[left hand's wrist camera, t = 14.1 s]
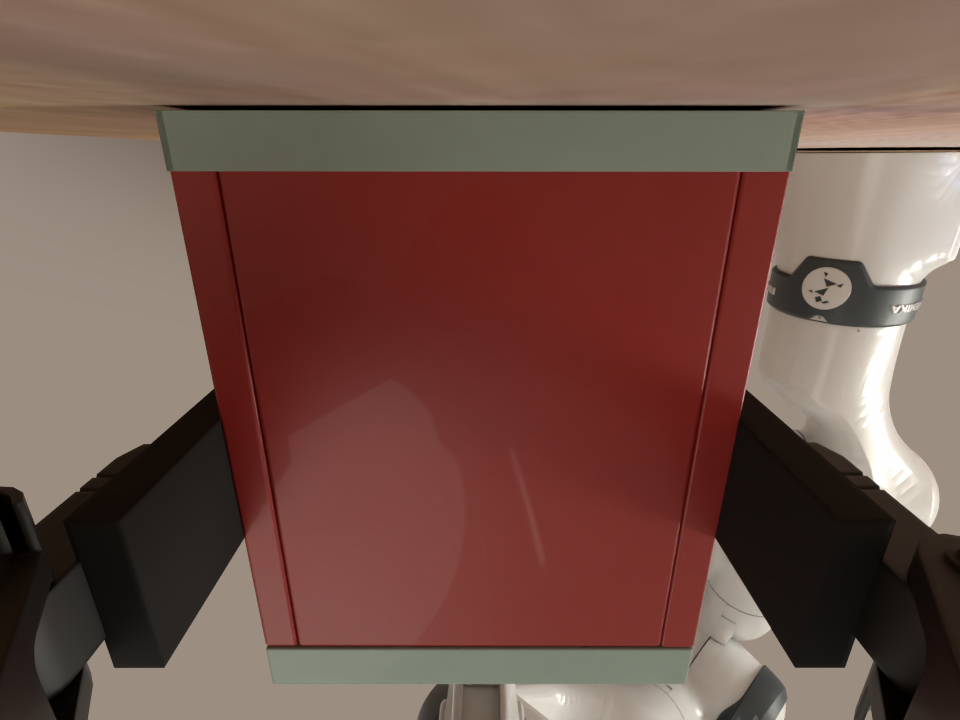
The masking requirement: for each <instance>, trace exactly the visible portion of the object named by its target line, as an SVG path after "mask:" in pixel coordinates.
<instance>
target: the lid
mask: <svg viewBox="0 0 960 720" xmlns="http://www.w3.org/2000/svg"><path fill="white" fill-rule="evenodd" d="M266 650H267V655H268V660H269V665H270V670H271V675H272V680H273V683H274V684H685V683H686V680H687V675H688V670H689V665H690V661H691V656H692V651H693V649H692V647H663V646H661V644H659V645H657V646H354V645H300V644H299V642H298V643H297V645H268V646H267V649H266Z"/></svg>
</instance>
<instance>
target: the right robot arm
mask: <svg viewBox="0 0 960 720" xmlns="http://www.w3.org/2000/svg"><path fill="white" fill-rule="evenodd" d="M959 247H960V151H927V152H796V156H795V161H794V166H793V171H792V172H790V175H789V180H788V185H787V190H786V195H785V200H784V204H783V209H782V214H781V219H780V224H779V229H778V234H777V239H776V244H775V249H774V255H775V258H776V262H777V265H776V266H774V267H773V268H772V273H771V278H770V281H769V282H768V288H767V289H768V295H767V302H768V303H769V304H770V309H769V314H768V318H767V323H766V328H765V333H764V338H763V343H762V347H761V352H760V357H759V362H758V369H759V374H760V377H761V379H762V381H763V383H764V385H765V386H766V387H767V389H768V390H769V391H770V392H771V393H772V394H774V395H775V396H776V397H777V398H779V399H780V400H781V401H783V402H784V403H786V404H788V405H789V406H791V407H793V408H795V409H797V410H799V411H800V412H802V413H804V414H806V415H807V418H806V422H805V425H804V427H803V428H802V429H801V430H793V431H794V432H795V433H796V434H798V435H799V436H800V437H801V438H802V439H803V440H804V441H806V442H816V443H818V444H820V445H822V446H824V447H826V448H828V449H830V450H832V451H834V452H836V453H838V454H840V455H842V456H844V457H845V458H846V459H847V460H849V461H850V462H851V463H852V464H853V465H855V466H856V467H857V468H858V469H859V470H861V471H862V472H863V476H868V477H869V478H870V479H872V480H873V481H874V482H875V483H876V484H878V485H879V486H880V490H885V491H886V492H887V493H889V494H890V495H891V496H892V497H894V498H895V499H896V500H897V501H898V502H900V503H901V504H902V505H903V506H904V507H906V508H907V509H908V510H909V511H911V512H912V513H913V514H914V515H915V516H917V517H918V518H919V519H920V520H921V521H923V522H924V523H925V524H926V525H928V526H929V527H930V526H931V525H932V523H933V522H934V520H935V518H936V515H937V512H938V508H939V490H938V486H937V482H936V480H935V478H934V475H933V474H932V472H931V470H930V469H929V467H928V466H927V464H926V463H925V462H924V461H923V460H922V459H921V458H920V457H919V456H918V455H917V454H916V453H915V452H913V451H912V450H911V449H910V448H909V447H908V446H907V445H906V444H905V443H904V442H903V441H902V439H901V438H900V436H899V435H898V433H897V431H896V429H895V427H894V425H893V422H892V418H891V414H890V409H889V392H890V386H891V381H892V376H893V371H894V367H895V363H896V358H897V355H898V351H899V347H900V343H901V340H902V337H903V334H904V330H905V327H906V324H907V323H909V322H911V321H913V319H914V317H915V314H916V312H917V309H918V308H919V307H920V305H921V302H922V299H923V297H922V295H923V292H924V289H925V286H926V283H927V281H926V279H925V278H924V277H925V276H926V275H928V274H929V273H930V272H931V271H932V270H934V269H936V268H937V267H939V266H942V265H944V264H946V263H947V262H949V261H952V260H954V259H955V257H956V255H957V252H958V249H959ZM770 629H771V628H770V626H769V624H768V623H767V621H766V620H765V618H764V616H763V615H762V613H761V611H760V610H759V608H758V607H757V605H756V603H755V602H754V600H753V599H752V597H751V595H750V594H749V592H748V590H747V589H746V587H745V586H744V584H743V582H742V581H741V579H740V577H739V576H738V574H737V573H736V571H735V569H734V568H733V566H732V564H731V563H730V561H729V560H728V558H727V556H726V555H725V553H724V552H723V550H722V548H721V547H720V545H719V543H718V542H717V540H716V539H715V543H714V548H713V553H712V558H711V563H710V567H709V572H708V577H707V582H706V587H705V592H704V597H703V602H702V607H701V612H700V617H699V621H698V626H697V631H696V636H695V641H694V645H693V646H692V649H693V651H692V656H691V661H690V665H689V670H688V675H687V680H686V683H685V684H437V685H436V686H435V687H434V688H433V689H432V691H431V692H430V693H429V695H428V696H427V698H426V700H425V702H424V703H423V705H422V708H421V710H420V712H419V715H418V719H417V720H784V718H785V711H786V701H787V694H786V689H785V687H784V685H783V684H782V683H781V681H780V680H779V679H778V678H777V677H776V676H775V675H774V673H773V672H772V671H771V670H770V669H769V668H768V667H767V666H766V665H764V666H762V665H761V664H760V663H759V662H758V661H757V660H756V659H755V658H754V657H753V656H752V655H751V654H750V653H749V652H748V651H747V650H745V649H744V648H743V647H742V646H741V645H740V644H739V643H738V642H736V641H735V640H734V639H737V640H753V639H756V638H758V637H760V636H762V635H764V634H765V633H766V632H768V631H769V630H770ZM733 638H734V639H733Z"/></svg>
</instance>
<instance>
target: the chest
mask: <svg viewBox="0 0 960 720" xmlns="http://www.w3.org/2000/svg"><path fill="white" fill-rule="evenodd" d="M804 112H805V111H661V110H155V114H156V119H157V124H158V129H159V134H160V139H161V144H162V149H163V153H164V158H165V163H166V168H167V171H171V176H172V181H173V186H174V191H175V196H176V201H177V206H178V211H179V216H180V221H181V226H182V231H183V236H184V241H185V246H186V251H187V256H188V260H189V265H190V270H191V275H192V280H193V285H194V290H195V295H196V300H197V305H198V310H199V315H200V320H201V325H202V330H203V335H204V340H205V345H206V350H207V355H208V360H209V364H210V369H211V374H212V379H213V384H214V389H215V394H216V399H217V404H218V409H219V414H220V419H221V424H222V429H223V434H224V439H225V444H226V449H227V454H228V458H229V463H230V468H231V473H232V478H233V483H234V488H235V493H236V498H237V503H238V508H239V513H240V518H241V523H242V528H243V533H244V538H245V543H246V548H247V552H248V557H249V562H250V567H251V572H252V577H253V582H254V587H255V592H256V597H257V602H258V607H259V612H260V617H261V622H262V627H263V631H264V637H265V641H266V644H267V645H297V643H298V642H299V644H300V645H354V646H657V645H659V644H661V646H663V647H692V646H693V645H694V641H695V636H696V631H697V626H698V621H699V617H700V612H701V607H702V602H703V597H704V592H705V587H706V582H707V577H708V572H709V567H710V563H711V558H712V553H713V548H714V543H715V537H716V532H717V527H718V522H719V517H720V512H721V507H722V502H723V497H724V493H725V488H726V483H727V478H728V473H729V468H730V463H731V458H732V453H733V448H734V443H735V438H736V433H737V428H738V424H739V419H740V415H741V411H742V406H743V401H744V396H745V391H746V386H747V381H748V376H749V371H750V366H751V361H752V357H753V352H754V347H755V342H756V337H757V332H758V327H759V322H760V317H761V312H762V307H763V303H764V298H765V293H766V288H767V283H768V278H769V273H770V268H771V263H772V258H773V254H774V249H775V244H776V239H777V234H778V229H779V224H780V219H781V214H782V209H783V204H784V200H785V195H786V190H787V185H788V180H789V175H790V172H792V171H793V166H794V161H795V156H796V151H797V146H798V142H799V137H800V132H801V127H802V122H803V117H804Z"/></svg>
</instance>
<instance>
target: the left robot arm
mask: <svg viewBox="0 0 960 720" xmlns="http://www.w3.org/2000/svg"><path fill="white" fill-rule="evenodd" d="M243 539H244V533H243V528H242V523H241V518H240V513H239V508H238V503H237V498H236V493H235V488H234V483H233V478H232V473H231V468H230V463H229V458H228V454H227V449H226V444H225V439H224V434H223V429H222V424H221V419H220V414H219V409H218V404H217V399H216V394H215V389H213V390H212V391H211V392H210V393H209V394H208V395H206V396H205V397H204V398H203V399H202V400H201V401H200V402H198V403H197V404H196V405H195V406H194V407H193V408H192V409H190V410H189V411H188V412H187V413H186V414H185V415H183V416H182V417H181V418H180V419H179V420H178V421H177V422H175V423H174V424H173V425H172V426H171V427H170V428H169V429H167V430H166V431H165V432H164V433H163V434H162V435H161V436H159V437H158V438H157V439H156V440H155V441H154V442H153V443H151V444H143V445H141V446H139V447H137V448H135V449H133V450H131V451H129V452H128V453H126V454H124V455H122V456H120V457H118V458H116V459H115V460H114V461H112V462H111V463H110V464H109V465H108V466H106V467H105V468H104V469H103V470H102V471H100V472H99V473H98V474H97V477H96V478H92V479H91V480H90V481H88V482H87V483H86V484H85V485H83V486H82V487H81V488H80V492H75V493H74V494H73V495H71V496H70V497H69V498H68V499H67V500H65V501H64V502H63V503H62V504H61V505H59V506H58V507H57V508H56V509H55V510H53V511H52V512H51V513H50V514H49V515H47V516H46V517H45V518H44V519H42V520H41V521H40V522H39V523H38V524H37V525H35V524H34V521H33V518H32V516H31V513H30V510H29V508H28V505H27V502H26V500H25V497H24V494H23V492H21V491H19V490H17V489H15V488H14V487H0V720H88V713H89V707H90V700H91V694H92V687H93V683H92V676H91V672H90V669H89V667H88V664H87V661H88V660H89V659H90V657H91V656H92V655H93V654H94V652H95V651H96V650H97V648H98V647H99V646H100V644H101V643H102V642H103V641H104V640H105V643H106V645H107V648H108V651H109V654H110V657H111V660H112V662H113V665H114V667H115V668H164V667H165V665H166V664H167V662H168V661H169V659H170V657H171V656H172V654H173V653H174V651H175V649H176V648H177V646H178V644H179V643H180V641H181V640H182V638H183V636H184V635H185V633H186V631H187V630H188V628H189V627H190V625H191V623H192V622H193V620H194V618H195V617H196V615H197V614H198V612H199V610H200V609H201V607H202V606H203V604H204V602H205V601H206V599H207V597H208V596H209V594H210V592H211V591H212V589H213V588H214V586H215V585H216V583H217V581H218V580H219V578H220V576H221V575H222V573H223V572H224V570H225V568H226V567H227V565H228V563H229V562H230V560H231V559H232V557H233V555H234V554H235V552H236V551H237V549H238V547H239V546H240V544H241V542H242V541H243ZM715 539H716V540H717V542H718V543H719V545H720V547H721V548H722V550H723V552H724V553H725V555H726V556H727V558H728V560H729V561H730V563H731V564H732V566H733V568H734V569H735V571H736V573H737V574H738V576H739V577H740V579H741V581H742V582H743V584H744V586H745V587H746V589H747V590H748V592H749V594H750V595H751V597H752V599H753V600H754V602H755V603H756V605H757V607H758V608H759V610H760V611H761V613H762V615H763V616H764V618H765V620H766V621H767V623H768V624H769V626H770V628H771V629H772V631H773V633H774V634H775V636H776V637H777V639H778V641H779V642H780V644H781V645H782V647H783V649H784V650H785V652H786V653H787V655H788V657H789V658H790V660H791V662H792V663H793V665H794V666H795V668H845V666H846V663H847V660H848V657H849V654H850V652H851V649H852V646H853V643H854V640H855V637H856V638H857V640H858V641H859V642H860V644H861V645H862V646H863V647H864V649H865V650H866V651H867V653H868V654H869V655H870V656H871V658H872V659H873V660H874V661H873V664H872V667H871V669H870V672H869V675H868V677H867V680H866V683H865V685H864V688H863V691H862V693H861V696H860V699H859V701H858V704H857V707H856V710H855V716H854V720H864V719H865V717H866V714H867V712H868V711H869V710H871V711H872V718H873V720H960V536H955V535H949V534H937V533H936V532H935V531H934V530H932V529H931V528H930V527H929V526H928V525H926V524H925V523H924V522H923V521H921V520H920V519H919V518H918V517H917V516H915V515H914V514H913V513H912V512H911V511H909V510H908V509H907V508H906V507H904V506H903V505H902V504H901V503H900V502H898V501H897V500H896V499H895V498H894V497H892V496H891V495H890V494H889V493H887V492H886V491H885V490H880V486H879V485H878V484H876V483H875V482H874V481H873V480H872V479H870V478H869V477H868V476H863V472H862V471H861V470H859V469H858V468H857V467H856V466H855V465H853V464H852V463H851V462H850V461H849V460H847V459H846V458H845V457H844V456H842V455H840V454H838V453H836V452H834V451H832V450H830V449H828V448H826V447H824V446H822V445H820V444H818V443H816V442H806V441H804V440H803V439H802V438H801V437H800V436H799V435H798V434H796V433H795V432H794V431H793V430H792V429H791V428H789V427H788V426H787V425H786V424H785V423H784V422H783V421H782V420H780V419H779V418H778V417H777V416H776V415H775V414H774V413H772V412H771V411H770V410H769V409H768V408H767V407H766V406H764V405H763V404H762V403H761V402H760V401H759V400H757V399H756V398H755V397H754V396H753V395H752V394H751V393H749V392H748V391H747V390H746V391H745V396H744V401H743V406H742V411H741V415H740V419H739V424H738V428H737V433H736V438H735V443H734V448H733V453H732V458H731V463H730V468H729V473H728V478H727V483H726V488H725V493H724V497H723V502H722V507H721V512H720V517H719V522H718V527H717V532H716V537H715Z"/></svg>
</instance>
